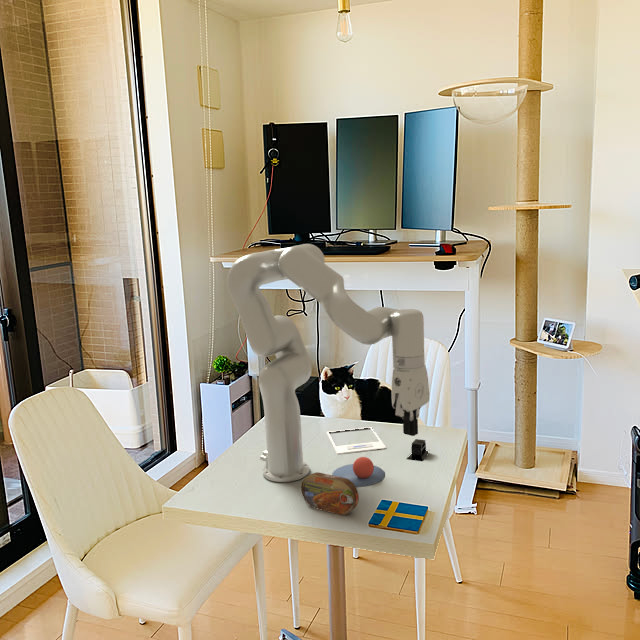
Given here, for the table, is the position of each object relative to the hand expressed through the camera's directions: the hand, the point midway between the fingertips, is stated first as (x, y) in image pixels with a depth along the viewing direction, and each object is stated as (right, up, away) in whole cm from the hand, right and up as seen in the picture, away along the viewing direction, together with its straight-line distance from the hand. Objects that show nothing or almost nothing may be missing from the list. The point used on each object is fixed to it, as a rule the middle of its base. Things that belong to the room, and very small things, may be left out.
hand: (410, 433), depth 159 cm
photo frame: (-11, -9, +38) cm, 41 cm away
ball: (-11, -11, +12) cm, 19 cm away
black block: (+6, -11, +25) cm, 28 cm away
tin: (-20, -17, -4) cm, 27 cm away
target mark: (-12, -13, +14) cm, 23 cm away
